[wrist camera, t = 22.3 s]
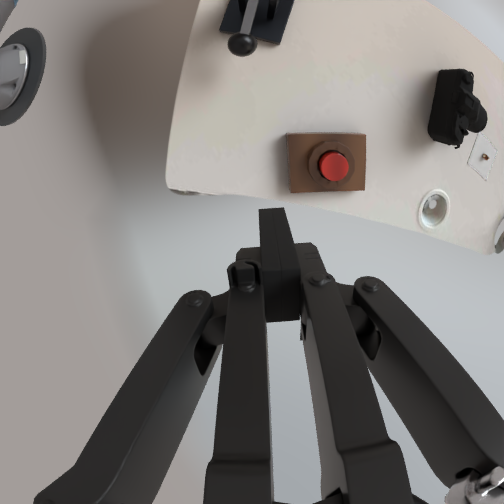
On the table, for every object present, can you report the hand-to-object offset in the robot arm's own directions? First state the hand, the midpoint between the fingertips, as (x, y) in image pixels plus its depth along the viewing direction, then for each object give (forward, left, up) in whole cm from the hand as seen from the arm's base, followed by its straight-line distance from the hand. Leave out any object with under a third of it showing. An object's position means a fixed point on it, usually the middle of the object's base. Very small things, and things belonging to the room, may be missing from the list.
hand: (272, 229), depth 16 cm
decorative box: (+46, +2, -27) cm, 53 cm away
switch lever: (+1, +22, -18) cm, 28 cm away
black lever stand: (+2, +25, -26) cm, 36 cm away
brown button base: (+10, -1, -26) cm, 28 cm away
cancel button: (+10, -1, -23) cm, 25 cm away
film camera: (+35, +10, -27) cm, 45 cm away
